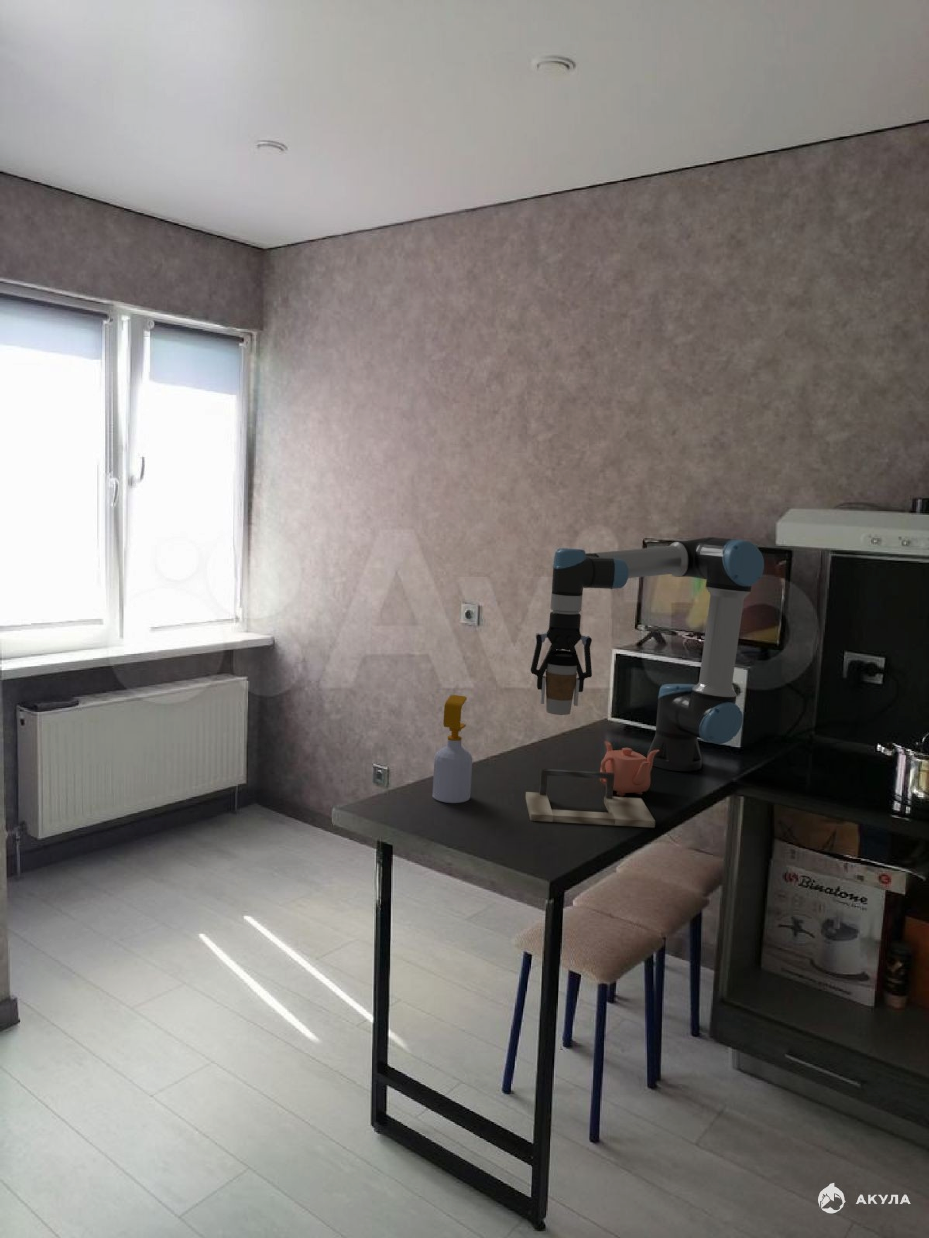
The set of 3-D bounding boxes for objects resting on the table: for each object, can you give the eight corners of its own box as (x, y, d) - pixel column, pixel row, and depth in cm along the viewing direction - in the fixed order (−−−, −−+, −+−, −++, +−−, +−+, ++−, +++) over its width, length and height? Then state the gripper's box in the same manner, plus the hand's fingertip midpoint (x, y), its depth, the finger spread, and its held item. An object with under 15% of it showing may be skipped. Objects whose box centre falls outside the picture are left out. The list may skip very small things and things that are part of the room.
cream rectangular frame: (640, 804, 221) (643, 774, 220) (654, 827, 205) (657, 795, 204) (525, 797, 220) (527, 767, 219) (530, 820, 205) (532, 788, 204)
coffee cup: (575, 709, 229) (579, 651, 227) (575, 717, 221) (580, 656, 219) (541, 707, 230) (546, 648, 228) (540, 714, 221) (545, 653, 220)
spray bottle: (474, 795, 220) (481, 695, 217) (462, 806, 212) (468, 702, 208) (440, 789, 223) (445, 691, 220) (426, 800, 214) (432, 697, 211)
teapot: (601, 778, 240) (605, 738, 239) (656, 787, 235) (659, 746, 234) (589, 793, 227) (592, 750, 226) (646, 803, 222) (650, 759, 221)
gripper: (605, 612, 226) (597, 702, 229) (522, 607, 226) (516, 697, 229) (609, 616, 218) (602, 709, 221) (524, 611, 218) (518, 704, 221)
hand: (558, 703), depth 225 cm, fingers closed on coffee cup, 8 cm apart
